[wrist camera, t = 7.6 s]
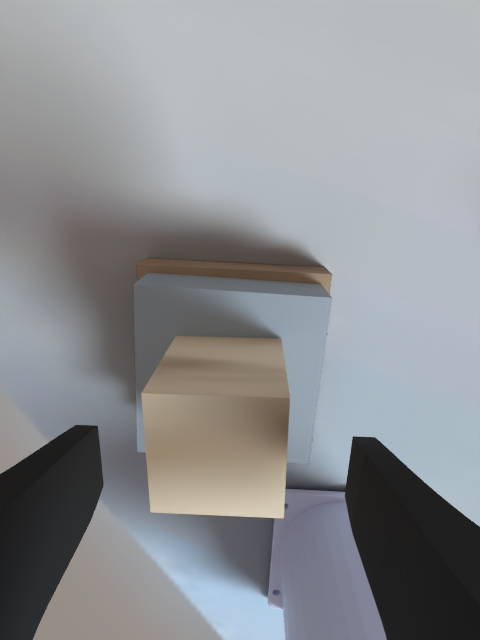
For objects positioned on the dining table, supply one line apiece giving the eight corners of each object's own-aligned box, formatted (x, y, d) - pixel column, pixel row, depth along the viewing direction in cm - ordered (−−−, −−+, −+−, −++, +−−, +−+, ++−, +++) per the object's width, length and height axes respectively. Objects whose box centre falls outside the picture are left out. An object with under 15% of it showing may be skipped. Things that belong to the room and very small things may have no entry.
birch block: (277, 430, 17) (283, 518, 13) (179, 427, 18) (150, 512, 13) (281, 338, 16) (290, 398, 11) (175, 336, 16) (141, 393, 12)
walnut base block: (306, 417, 23) (312, 442, 21) (154, 408, 23) (142, 432, 21) (322, 265, 20) (331, 274, 18) (150, 256, 20) (136, 264, 18)
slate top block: (302, 433, 20) (308, 464, 18) (150, 422, 21) (136, 452, 18) (321, 284, 18) (331, 297, 16) (148, 272, 18) (132, 284, 16)
